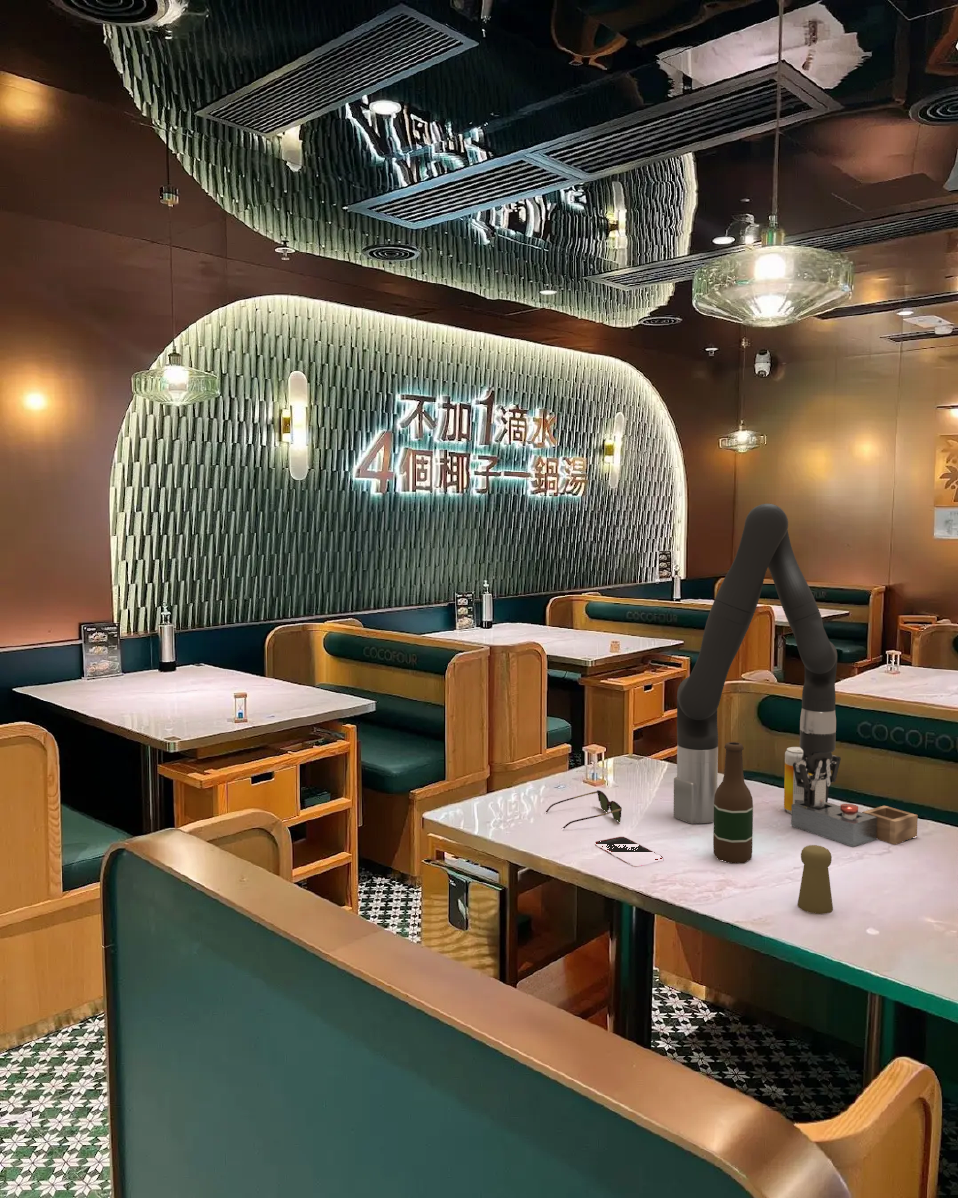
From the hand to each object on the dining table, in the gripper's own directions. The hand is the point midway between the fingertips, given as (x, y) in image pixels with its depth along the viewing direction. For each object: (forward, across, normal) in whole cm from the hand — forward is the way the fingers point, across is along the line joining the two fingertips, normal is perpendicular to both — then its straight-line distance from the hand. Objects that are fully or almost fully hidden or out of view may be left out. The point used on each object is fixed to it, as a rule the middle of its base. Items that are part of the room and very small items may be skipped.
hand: (815, 803), depth 206 cm
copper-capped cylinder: (+4, 0, +8) cm, 10 cm away
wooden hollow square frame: (+5, -9, +12) cm, 16 cm away
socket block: (+6, 0, +4) cm, 7 cm away
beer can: (+6, -6, -10) cm, 12 cm away
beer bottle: (+6, +29, +3) cm, 30 cm away
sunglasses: (+6, +40, -34) cm, 53 cm away
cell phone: (+6, +45, -11) cm, 47 cm away
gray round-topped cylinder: (+5, 0, 0) cm, 5 cm away
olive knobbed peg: (+6, +35, +28) cm, 45 cm away
